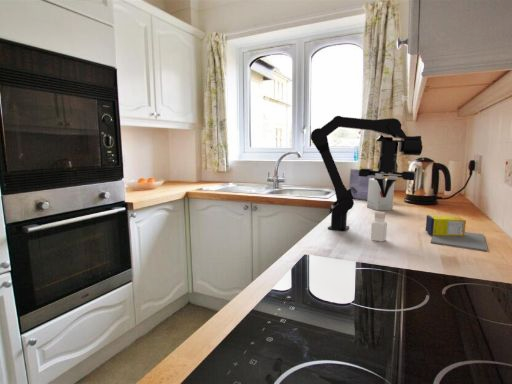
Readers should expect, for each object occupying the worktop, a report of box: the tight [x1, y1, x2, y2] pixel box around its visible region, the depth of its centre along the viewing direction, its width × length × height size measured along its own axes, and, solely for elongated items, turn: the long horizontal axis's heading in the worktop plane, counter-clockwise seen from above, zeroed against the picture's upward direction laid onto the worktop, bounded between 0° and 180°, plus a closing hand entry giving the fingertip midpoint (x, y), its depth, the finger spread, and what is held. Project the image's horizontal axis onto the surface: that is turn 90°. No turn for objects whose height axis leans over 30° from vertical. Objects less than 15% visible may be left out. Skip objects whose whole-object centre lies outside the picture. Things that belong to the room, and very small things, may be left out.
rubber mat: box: [430, 231, 488, 252], centre depth 107 cm, size 20×15×1 cm
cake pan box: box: [348, 168, 383, 201], centre depth 183 cm, size 19×5×18 cm, turn 58°
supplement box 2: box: [366, 178, 396, 211], centre depth 157 cm, size 9×9×15 cm
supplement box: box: [424, 214, 467, 237], centre depth 111 cm, size 6×6×11 cm
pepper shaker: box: [370, 211, 388, 243], centre depth 105 cm, size 4×4×10 cm
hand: (384, 197), depth 115 cm, fingers closed
